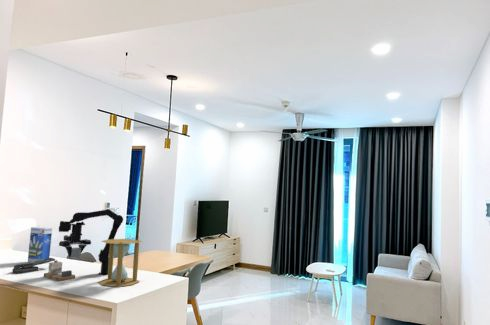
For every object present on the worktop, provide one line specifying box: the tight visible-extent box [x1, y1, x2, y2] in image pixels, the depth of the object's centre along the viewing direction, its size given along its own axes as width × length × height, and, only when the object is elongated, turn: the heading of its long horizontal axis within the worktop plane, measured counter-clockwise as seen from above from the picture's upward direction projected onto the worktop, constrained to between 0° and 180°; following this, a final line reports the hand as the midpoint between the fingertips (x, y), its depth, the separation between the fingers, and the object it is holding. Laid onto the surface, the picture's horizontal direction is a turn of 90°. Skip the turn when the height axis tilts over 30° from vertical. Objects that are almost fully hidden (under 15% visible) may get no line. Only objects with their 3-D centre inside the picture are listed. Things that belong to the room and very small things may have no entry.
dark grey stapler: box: [11, 257, 56, 275], centre depth 237 cm, size 9×7×25 cm
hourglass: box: [97, 238, 143, 288], centre depth 215 cm, size 24×22×25 cm
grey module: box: [67, 247, 82, 260], centre depth 228 cm, size 4×6×6 cm
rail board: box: [43, 259, 76, 282], centre depth 220 cm, size 18×10×10 cm, turn 56°
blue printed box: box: [27, 226, 53, 265], centre depth 263 cm, size 13×8×26 cm, turn 73°
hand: (74, 256), depth 228 cm, fingers closed on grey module, 6 cm apart
